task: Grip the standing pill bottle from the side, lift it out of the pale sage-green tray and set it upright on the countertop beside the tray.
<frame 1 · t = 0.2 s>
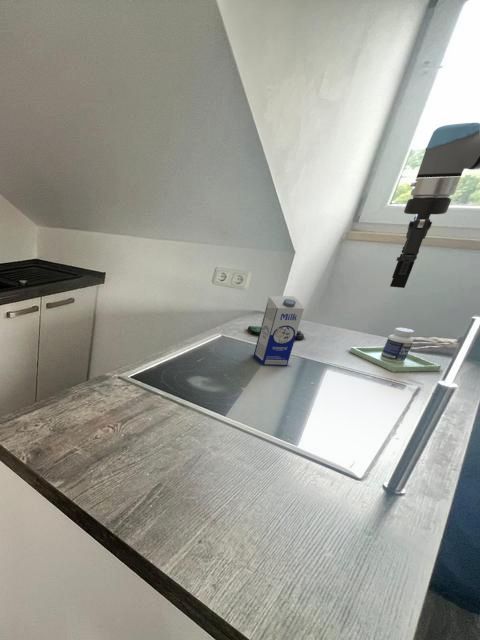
hand: (397, 282, 104), 26 cm above the counter, tool pointing down, fingers open, 13 cm apart
milk carton: (269, 361, 121), on the counter
gun: (275, 335, 141), on the counter
pill bottle: (391, 360, 119), resting on tray
tray: (391, 360, 119), on the counter
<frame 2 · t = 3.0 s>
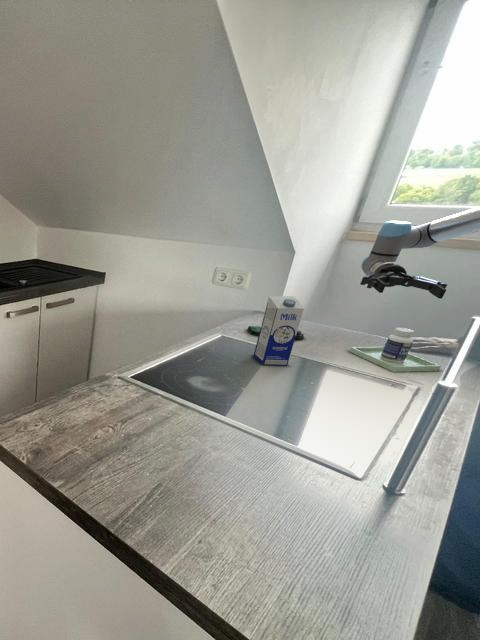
hand: (411, 291, 116), 20 cm above the counter, tool horizontal, fingers open, 13 cm apart
nothing on the counter moved.
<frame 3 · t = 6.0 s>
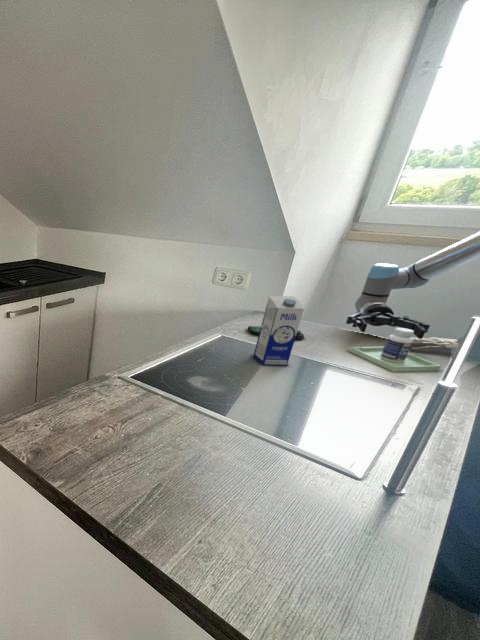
hand: (392, 331, 123), 7 cm above the counter, tool horizontal, fingers open, 13 cm apart
nothing on the counter moved.
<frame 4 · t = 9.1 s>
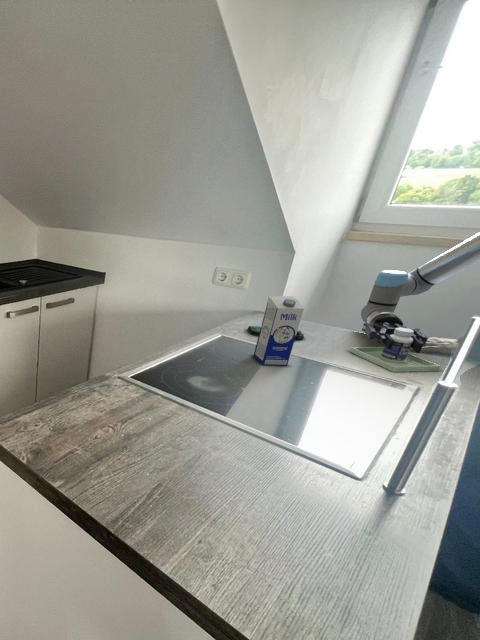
hand: (405, 346, 112), 6 cm above the counter, tool horizontal, fingers closed on pill bottle, 5 cm apart
pill bottle: (391, 360, 119), resting on tray, touching gripper
everything else where it was.
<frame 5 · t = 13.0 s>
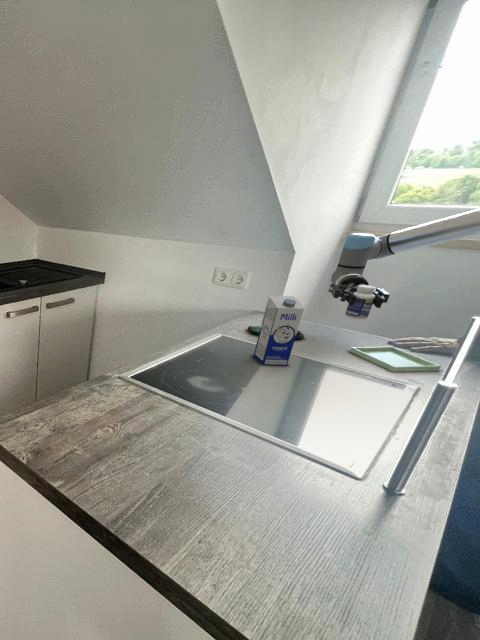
hand: (366, 302, 113), 18 cm above the counter, tool horizontal, fingers closed on pill bottle, 5 cm apart
pill bottle: (355, 318, 120), point 12 cm above the counter, touching gripper
everything else where it was.
when the fingers open (6 cm above the counter, at t = 16.9 s): pill bottle stays where it is, on the counter.
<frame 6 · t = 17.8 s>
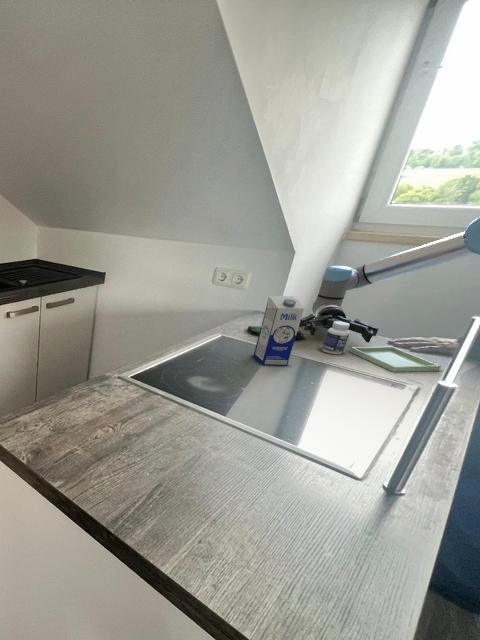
hand: (340, 334, 121), 7 cm above the counter, tool horizontal, fingers open, 13 cm apart
pill bottle: (331, 352, 126), on the counter
everything else where it was.
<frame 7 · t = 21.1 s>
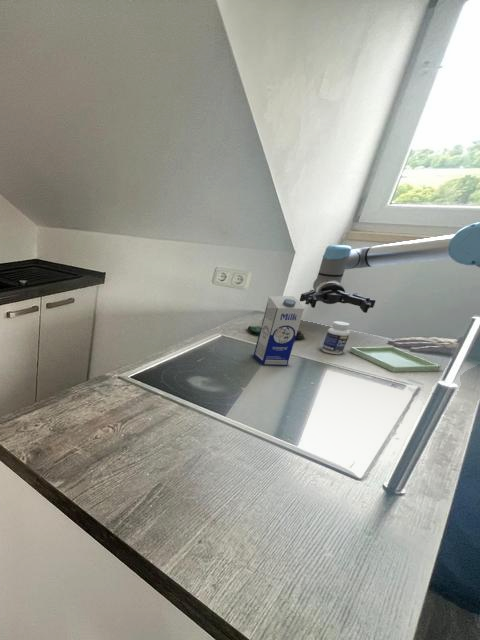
hand: (339, 306, 129), 13 cm above the counter, tool horizontal, fingers open, 13 cm apart
nothing on the counter moved.
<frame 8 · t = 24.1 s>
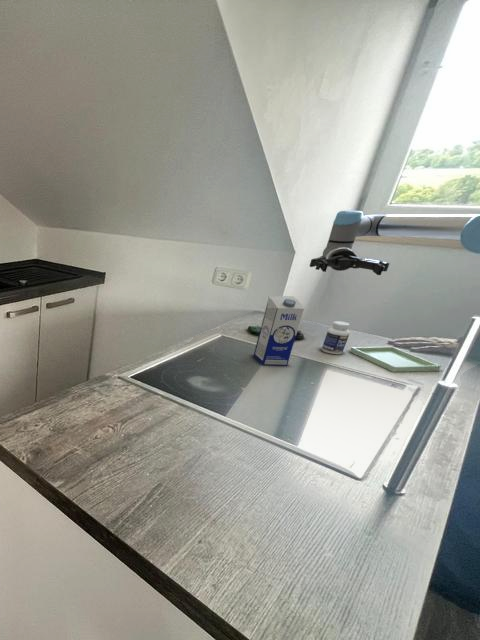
hand: (352, 269, 124), 25 cm above the counter, tool horizontal, fingers open, 13 cm apart
nothing on the counter moved.
at the end: pill bottle inside the target area (0.1 cm from its centre), on the counter; pill bottle tilted 0°; pill bottle touching counter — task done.
